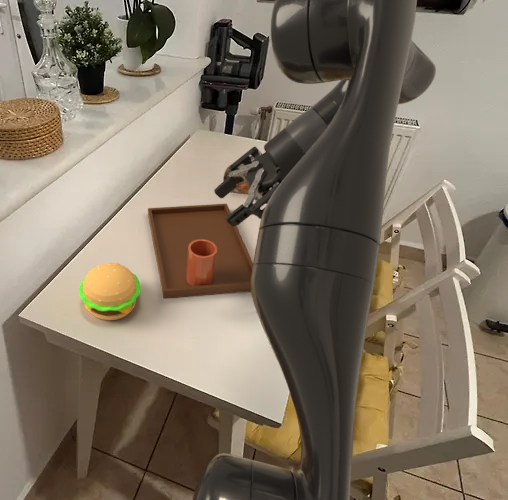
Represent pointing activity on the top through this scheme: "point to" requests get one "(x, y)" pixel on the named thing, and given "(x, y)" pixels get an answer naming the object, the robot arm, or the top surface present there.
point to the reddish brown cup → (201, 262)
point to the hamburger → (109, 291)
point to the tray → (193, 228)
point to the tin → (241, 187)
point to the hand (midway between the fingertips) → (223, 208)
